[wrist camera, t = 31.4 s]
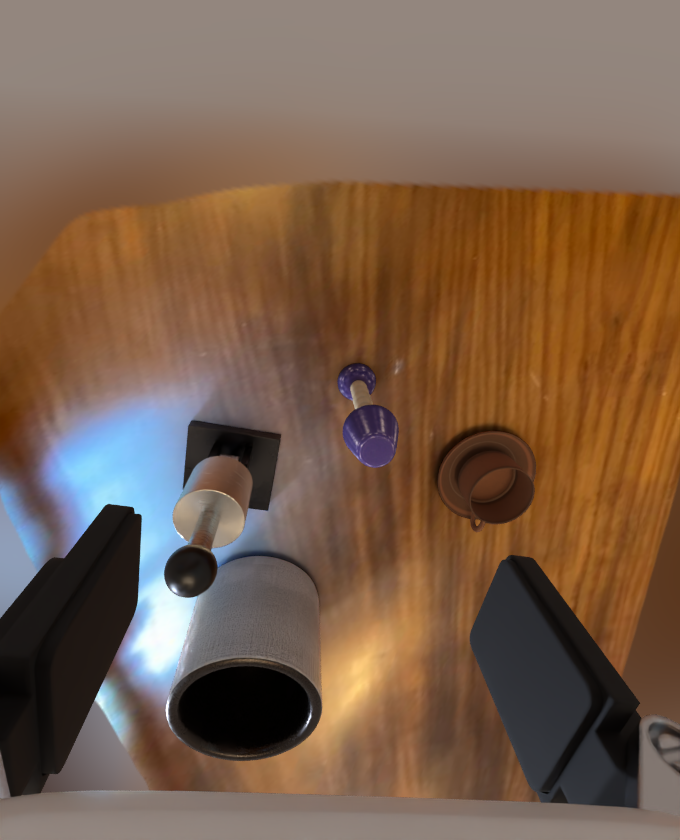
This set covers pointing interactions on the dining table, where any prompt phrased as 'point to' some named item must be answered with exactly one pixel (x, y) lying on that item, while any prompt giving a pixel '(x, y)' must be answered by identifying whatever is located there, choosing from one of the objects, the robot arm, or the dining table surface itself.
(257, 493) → the dark grey lever base
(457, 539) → the dining table surface
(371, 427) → the toy lamp
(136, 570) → the robot arm
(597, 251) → the dining table surface
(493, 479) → the cup and saucer
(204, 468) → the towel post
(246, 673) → the planter
